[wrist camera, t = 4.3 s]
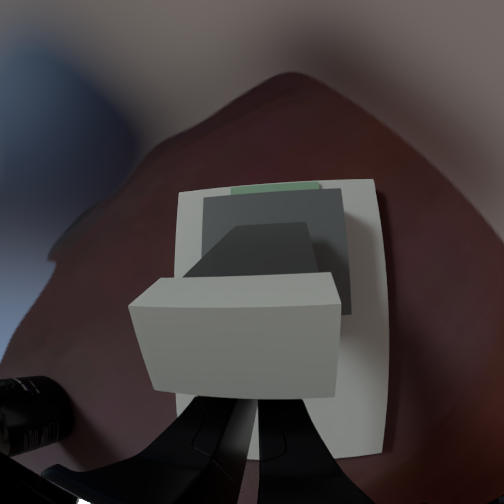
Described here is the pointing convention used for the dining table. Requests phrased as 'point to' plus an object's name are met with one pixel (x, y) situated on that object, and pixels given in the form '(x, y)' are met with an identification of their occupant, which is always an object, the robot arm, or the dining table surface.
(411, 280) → the dining table surface
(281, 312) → the breaker lever
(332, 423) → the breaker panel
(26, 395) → the supplement bottle
